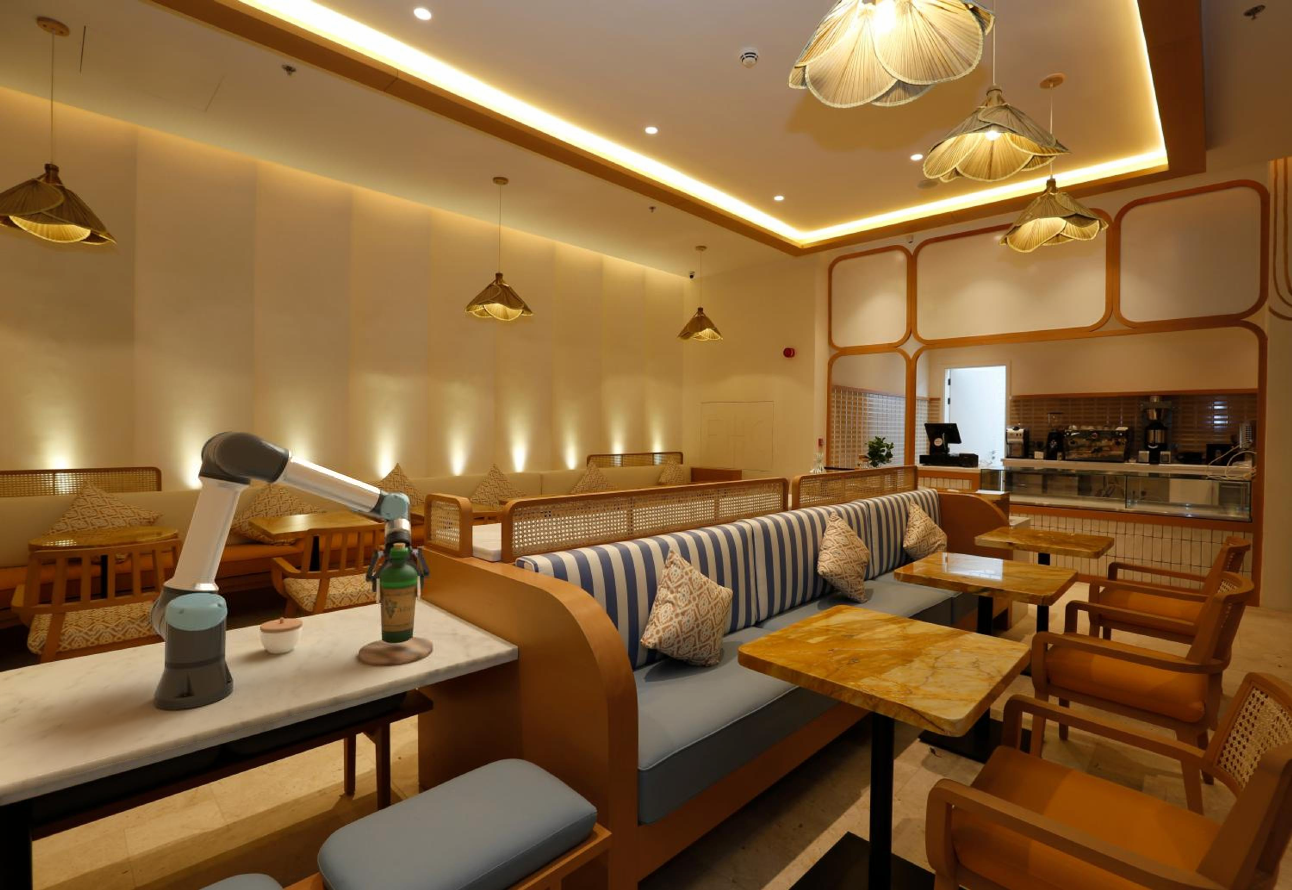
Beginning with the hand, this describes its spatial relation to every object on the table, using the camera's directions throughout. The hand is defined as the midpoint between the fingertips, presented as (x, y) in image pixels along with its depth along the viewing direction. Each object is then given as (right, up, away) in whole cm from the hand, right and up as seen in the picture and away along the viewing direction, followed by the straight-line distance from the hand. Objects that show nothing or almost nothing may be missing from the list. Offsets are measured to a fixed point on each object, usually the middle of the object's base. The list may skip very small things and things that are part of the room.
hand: (398, 599), depth 173 cm
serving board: (-2, -16, +3) cm, 17 cm away
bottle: (-2, -13, +3) cm, 13 cm away
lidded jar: (-36, -16, +3) cm, 39 cm away
